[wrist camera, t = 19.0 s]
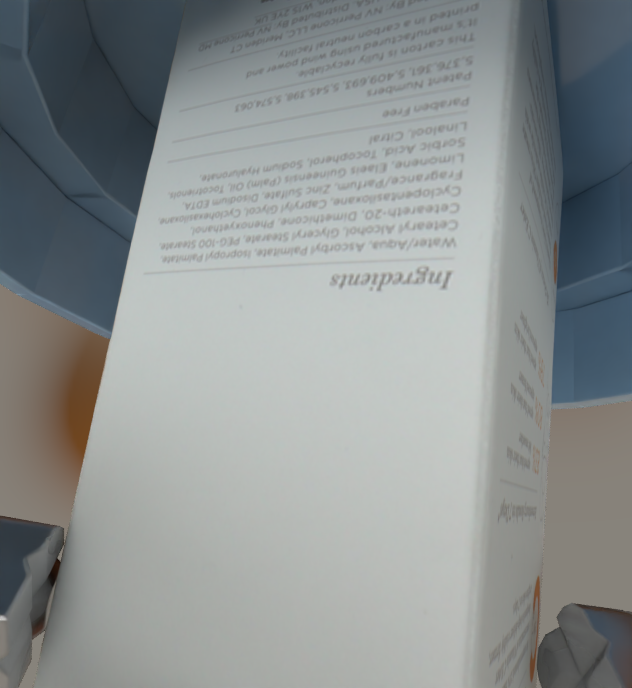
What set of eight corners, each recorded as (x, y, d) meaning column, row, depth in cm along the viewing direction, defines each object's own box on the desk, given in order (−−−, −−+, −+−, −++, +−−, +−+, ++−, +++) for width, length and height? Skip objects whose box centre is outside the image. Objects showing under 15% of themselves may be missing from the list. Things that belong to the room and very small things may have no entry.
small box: (181, -16, 11) (-3, 759, 8) (538, -141, 8) (463, 1028, 5) (346, 195, 18) (283, 642, 15) (566, 171, 15) (543, 722, 12)
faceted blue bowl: (1374, -372, 6) (1798, 98, 4) (530, 276, 22) (526, 436, 20) (-396, -1201, 4) (-1449, -1133, 2) (90, 176, 20) (34, 343, 18)
